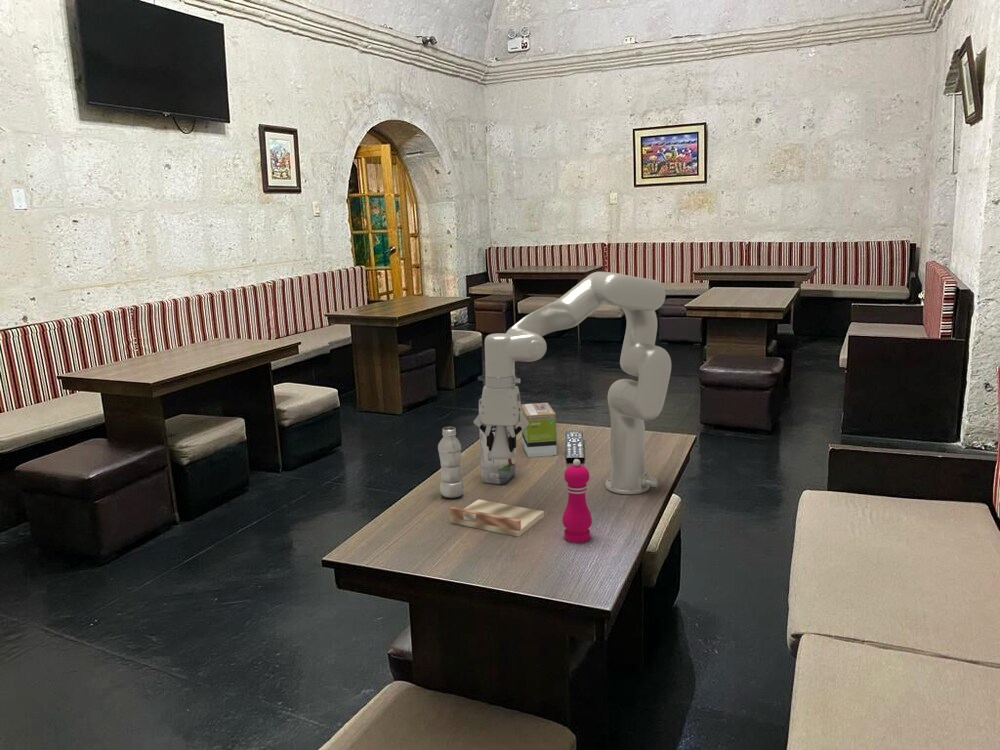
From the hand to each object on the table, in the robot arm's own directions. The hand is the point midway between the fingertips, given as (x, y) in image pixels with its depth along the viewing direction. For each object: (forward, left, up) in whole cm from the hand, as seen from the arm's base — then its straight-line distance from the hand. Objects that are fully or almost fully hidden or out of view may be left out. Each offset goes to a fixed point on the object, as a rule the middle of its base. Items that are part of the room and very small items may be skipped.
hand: (501, 449), depth 196 cm
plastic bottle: (+19, -5, -18) cm, 27 cm away
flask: (0, 0, -2) cm, 2 cm away
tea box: (+16, -54, -18) cm, 59 cm away
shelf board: (-1, +4, -18) cm, 18 cm away
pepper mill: (-24, +5, -18) cm, 30 cm away
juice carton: (+14, -23, -18) cm, 32 cm away
